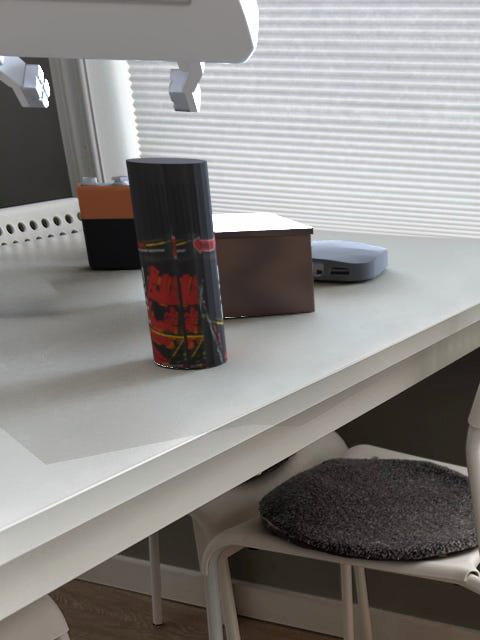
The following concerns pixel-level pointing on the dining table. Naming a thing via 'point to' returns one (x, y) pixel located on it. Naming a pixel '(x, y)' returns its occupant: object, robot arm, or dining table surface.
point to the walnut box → (263, 265)
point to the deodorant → (178, 260)
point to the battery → (108, 223)
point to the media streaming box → (347, 260)
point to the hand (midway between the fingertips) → (113, 101)
